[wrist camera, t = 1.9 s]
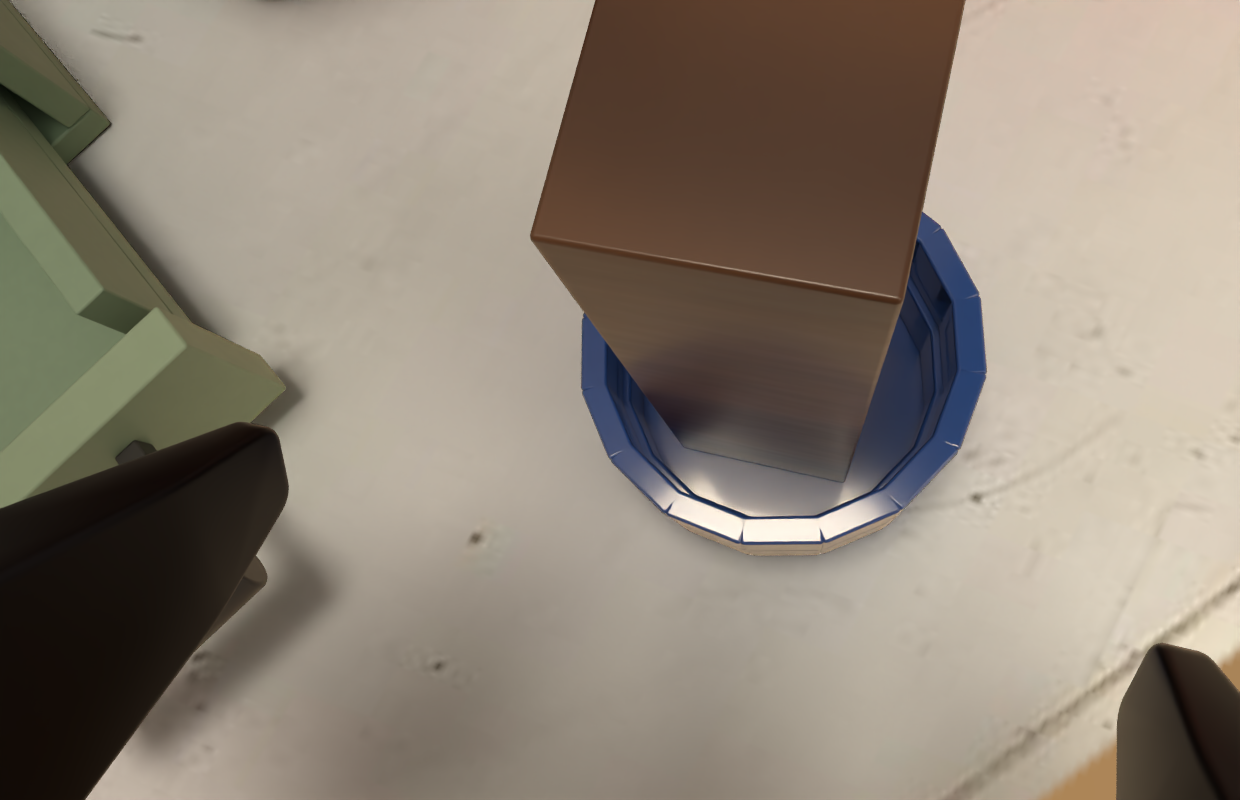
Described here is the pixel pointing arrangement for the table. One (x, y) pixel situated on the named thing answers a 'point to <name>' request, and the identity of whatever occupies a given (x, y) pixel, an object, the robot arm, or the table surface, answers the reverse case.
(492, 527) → the table surface
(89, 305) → the drawer
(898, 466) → the blue bowl
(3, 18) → the cabinet
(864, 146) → the walnut block
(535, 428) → the table surface
